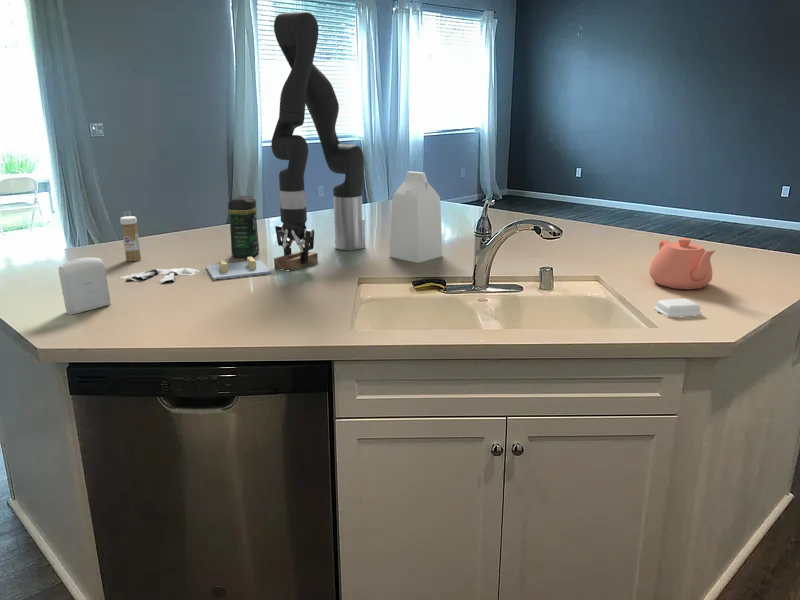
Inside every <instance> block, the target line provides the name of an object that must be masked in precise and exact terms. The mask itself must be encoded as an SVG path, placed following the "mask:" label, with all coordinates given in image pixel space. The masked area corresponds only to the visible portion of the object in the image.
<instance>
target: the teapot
mask: <svg viewBox="0 0 800 600" xmlns="http://www.w3.org/2000/svg"><path fill="white" fill-rule="evenodd" d="M715 252H716V250H707V251H706V250H705V248H704V247H703V246H702V245H700V244H696V243H692V239H691V238H688V237H680V238H678V240H677V241H674V242H673V241H672V242H671V241H669V240H667V239H661V240H659V243H658V251H657V252H656V253H655V255H654V257H653V259H652V261H651V263H650V265H649V270H648V271H649V275H650V278H651V279H652V281H654V283H655V284H657V285H660V286H662V287H666V288H671V289H675V290H698V289H702V288H704V287H706V286H707V285H708V284H709V283H710V282H711V281H712V279H713V267H712V263H711V258H712V256H713V254H714V253H715Z"/></svg>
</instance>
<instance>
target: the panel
mask: <svg viewBox="0 0 800 600" xmlns="http://www.w3.org/2000/svg"><path fill="white" fill-rule="evenodd" d="M218 261H219V264H212V265H210V264H209V265H206V270H207V272H208V274H209V273H210V274H209V275H210V277H211V279H212V278H213V279H212V280H213V281H217V280H216V279H223V280H228V279H227V278H231V279H237V278H236V277H240V278H245V277H244V276H248V277H254V276H253V275H257V276H262V275H261V274H266V275H271V274H272V271H271V269H270V268H269V267H268V266H267V265H266V264H265V263H264V262H263V261H262V260H261V259H258V260H255V258H254V256H252V257H250V256H249V257H246V261H238V262H229V263H228V262H227V261H226V260H225V259H224V258H223V259H219V260H218ZM270 273H271V274H270Z"/></svg>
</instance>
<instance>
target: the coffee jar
mask: <svg viewBox="0 0 800 600" xmlns="http://www.w3.org/2000/svg"><path fill="white" fill-rule="evenodd" d="M227 211H228V217H229V226H230V230H229V231H230V244H231V247H230V248H231V249H230V250H231V256H233V257H237V258H239V259H240V258H243V259H244V258H247V257H254V256H256V255H258V253H259V252H260V244H259V242H260V241H259V233H258V231H259V230H258V223H257V222H258V221H257V202H256V198H255V197H253V196H251V195H238V197H237V196H236V197H235V198H232V199H231V200H229V201H228V202H227Z"/></svg>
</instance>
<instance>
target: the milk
mask: <svg viewBox="0 0 800 600" xmlns="http://www.w3.org/2000/svg"><path fill="white" fill-rule="evenodd" d="M428 181H429V180H428V179H427V175H426V173H425V172H421V171H420V172H419V171H407V172H406V175H405V178H404V181H403V182H402V183H401V184H400V186H399V187H398V188H397V190H396V191H395V192H394V193H393V195H392V197H391V198H392V199H391V212H390V232H389V233H390V237H389V238H390V240H389V257H390V258H395V259H398V260H404V261H407V262H412V263H417V264H419V263H423V262H426V261H429V260H430V261H431V260H434V259H436V258H441V257H443V237H442V235H443V234H442V211H441V210H442V209H441V207H442V206H441V197H440V195H439V193H438V192H437V191H436V189H434V188H433V186H432V185H431V184H430V183H429V182H428Z"/></svg>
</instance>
